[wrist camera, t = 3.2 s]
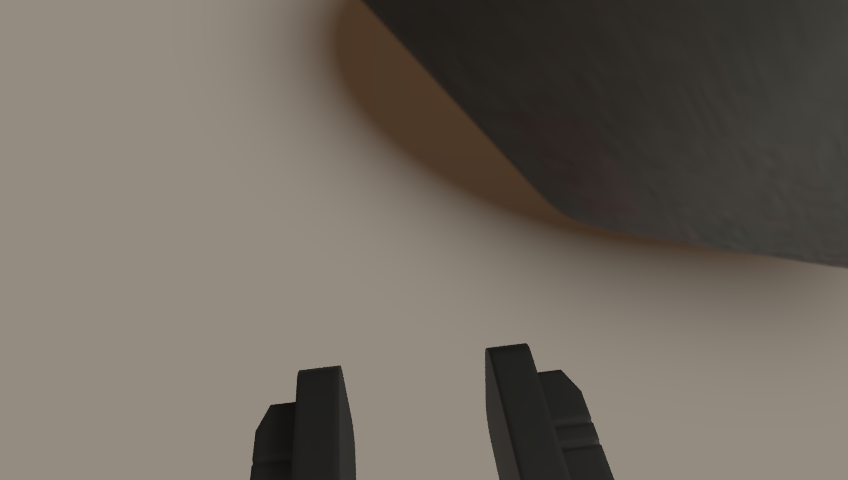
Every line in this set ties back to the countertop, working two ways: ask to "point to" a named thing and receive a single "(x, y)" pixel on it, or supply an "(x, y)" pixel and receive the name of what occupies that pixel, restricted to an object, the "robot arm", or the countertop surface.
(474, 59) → the countertop surface
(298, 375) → the robot arm
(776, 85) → the countertop surface
